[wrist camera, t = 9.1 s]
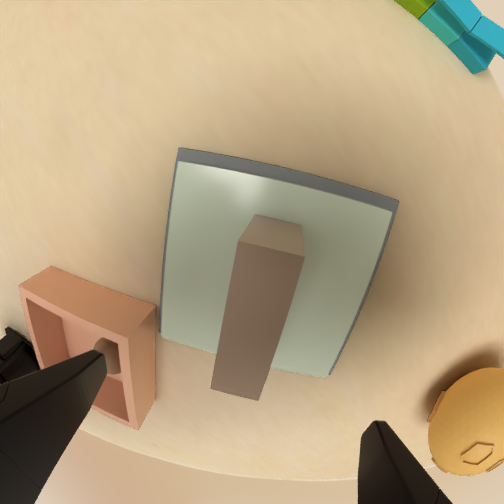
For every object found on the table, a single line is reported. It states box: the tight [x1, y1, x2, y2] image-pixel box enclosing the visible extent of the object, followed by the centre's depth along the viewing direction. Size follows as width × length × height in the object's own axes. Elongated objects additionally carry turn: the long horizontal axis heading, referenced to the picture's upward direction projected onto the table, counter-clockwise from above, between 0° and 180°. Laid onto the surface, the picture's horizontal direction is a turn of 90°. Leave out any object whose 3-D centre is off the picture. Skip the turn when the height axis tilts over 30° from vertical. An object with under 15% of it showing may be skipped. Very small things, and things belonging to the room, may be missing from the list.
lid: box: [161, 161, 392, 400], centre depth 14 cm, size 12×12×6 cm
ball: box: [93, 337, 121, 375], centre depth 19 cm, size 3×3×3 cm
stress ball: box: [427, 367, 504, 476], centre depth 14 cm, size 10×10×10 cm
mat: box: [159, 148, 399, 375], centre depth 17 cm, size 13×13×1 cm
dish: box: [18, 266, 156, 430], centre depth 20 cm, size 11×11×5 cm
